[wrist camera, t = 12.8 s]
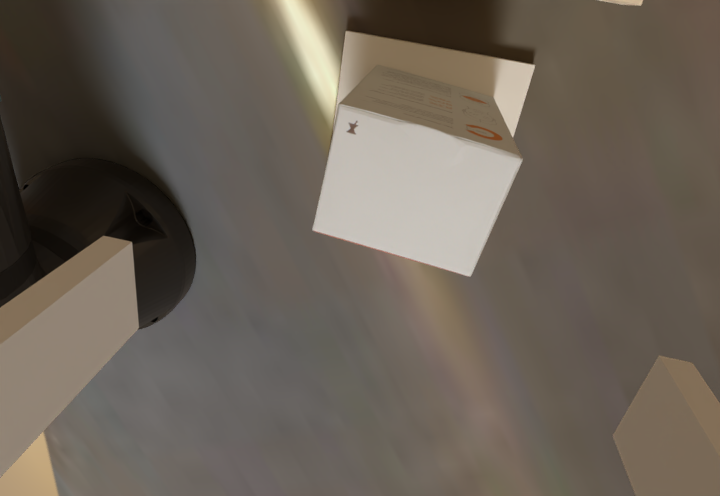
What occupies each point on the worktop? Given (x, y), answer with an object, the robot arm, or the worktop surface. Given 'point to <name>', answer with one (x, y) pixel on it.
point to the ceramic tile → (438, 69)
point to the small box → (417, 170)
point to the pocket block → (624, 2)
